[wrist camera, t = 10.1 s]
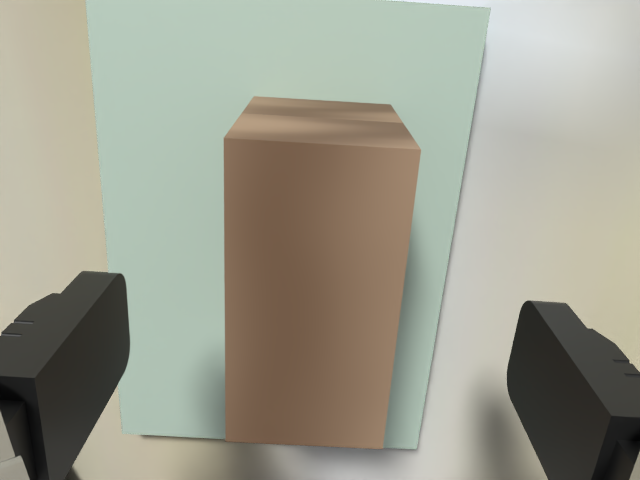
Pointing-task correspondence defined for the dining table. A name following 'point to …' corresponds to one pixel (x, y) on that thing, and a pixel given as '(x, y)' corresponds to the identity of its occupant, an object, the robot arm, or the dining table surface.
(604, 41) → the dining table surface
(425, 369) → the pin plate
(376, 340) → the block
